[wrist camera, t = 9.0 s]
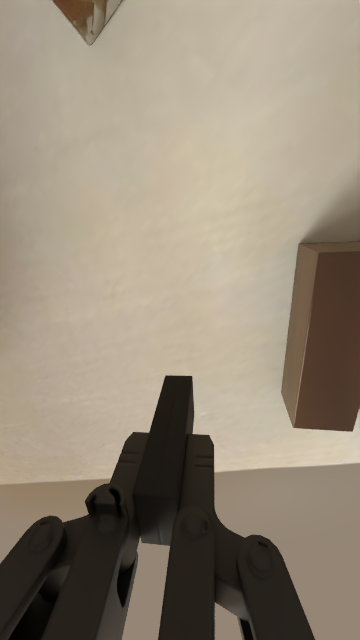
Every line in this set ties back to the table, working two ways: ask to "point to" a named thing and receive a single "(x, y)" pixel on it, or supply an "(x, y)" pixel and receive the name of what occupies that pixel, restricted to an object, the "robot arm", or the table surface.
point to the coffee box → (87, 15)
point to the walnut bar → (324, 338)
